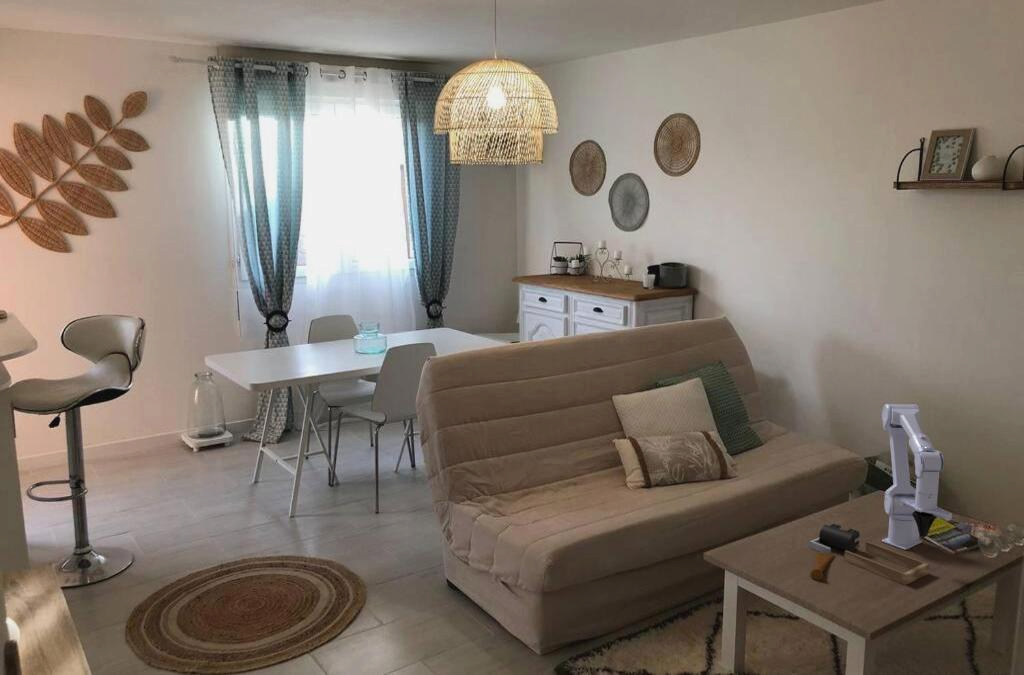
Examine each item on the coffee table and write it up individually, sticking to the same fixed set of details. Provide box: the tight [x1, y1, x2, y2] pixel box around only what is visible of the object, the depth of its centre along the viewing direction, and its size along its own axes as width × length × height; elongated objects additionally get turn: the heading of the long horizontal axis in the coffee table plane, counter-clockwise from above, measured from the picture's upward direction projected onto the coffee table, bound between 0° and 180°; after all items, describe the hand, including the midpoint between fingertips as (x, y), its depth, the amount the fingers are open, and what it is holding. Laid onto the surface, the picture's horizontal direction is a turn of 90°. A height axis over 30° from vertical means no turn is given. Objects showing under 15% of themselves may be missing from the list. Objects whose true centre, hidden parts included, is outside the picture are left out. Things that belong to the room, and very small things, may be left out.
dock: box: [808, 537, 832, 554], centre depth 261 cm, size 13×7×2 cm, turn 124°
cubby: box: [843, 540, 931, 586], centre depth 246 cm, size 12×20×3 cm, turn 34°
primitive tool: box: [809, 551, 835, 581], centre depth 247 cm, size 19×6×4 cm, turn 155°
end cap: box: [818, 523, 861, 553], centre depth 258 cm, size 10×7×7 cm
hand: (923, 535), depth 244 cm, fingers closed
